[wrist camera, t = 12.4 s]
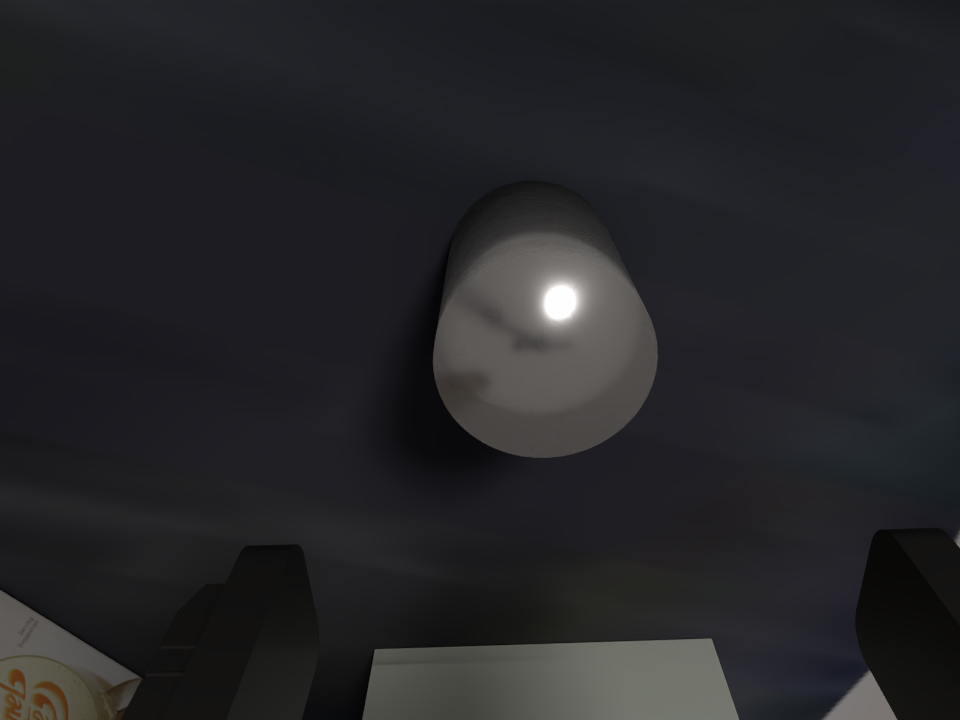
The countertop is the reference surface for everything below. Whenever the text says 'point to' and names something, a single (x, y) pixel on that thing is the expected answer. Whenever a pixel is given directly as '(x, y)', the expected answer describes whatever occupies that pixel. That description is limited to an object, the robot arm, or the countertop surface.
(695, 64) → the countertop surface
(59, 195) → the countertop surface
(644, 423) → the countertop surface
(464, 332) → the grey metal cylinder
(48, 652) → the coffee box
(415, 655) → the tote
